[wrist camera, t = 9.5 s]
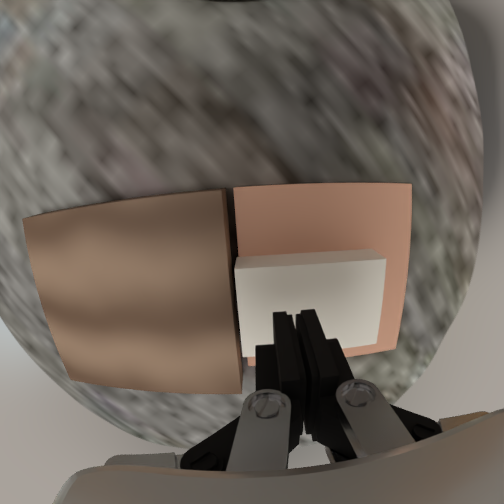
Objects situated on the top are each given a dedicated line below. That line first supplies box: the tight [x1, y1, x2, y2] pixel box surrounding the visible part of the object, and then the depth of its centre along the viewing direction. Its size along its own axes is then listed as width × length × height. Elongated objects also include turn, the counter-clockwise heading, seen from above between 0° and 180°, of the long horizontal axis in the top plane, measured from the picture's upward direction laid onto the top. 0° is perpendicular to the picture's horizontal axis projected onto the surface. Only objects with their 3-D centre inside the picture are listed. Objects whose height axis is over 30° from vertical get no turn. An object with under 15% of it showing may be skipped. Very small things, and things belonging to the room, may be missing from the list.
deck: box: [23, 188, 243, 394], centre depth 18 cm, size 14×15×2 cm
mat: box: [233, 183, 412, 366], centre depth 19 cm, size 13×12×1 cm
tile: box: [234, 249, 386, 357], centre depth 18 cm, size 6×9×2 cm, turn 94°
